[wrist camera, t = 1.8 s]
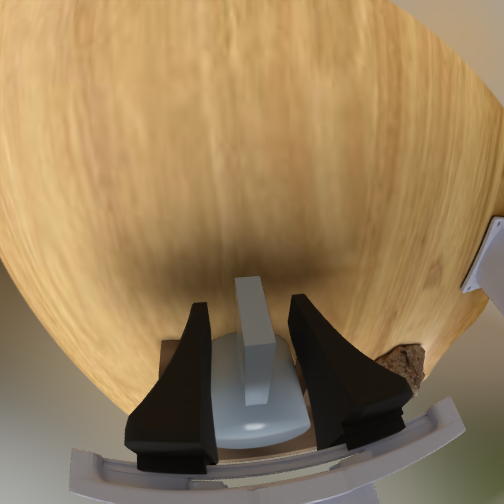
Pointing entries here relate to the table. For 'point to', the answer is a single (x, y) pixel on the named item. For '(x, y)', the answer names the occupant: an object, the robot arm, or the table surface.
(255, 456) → the caddy
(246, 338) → the finned dome knob
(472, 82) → the table surface
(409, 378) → the rock
